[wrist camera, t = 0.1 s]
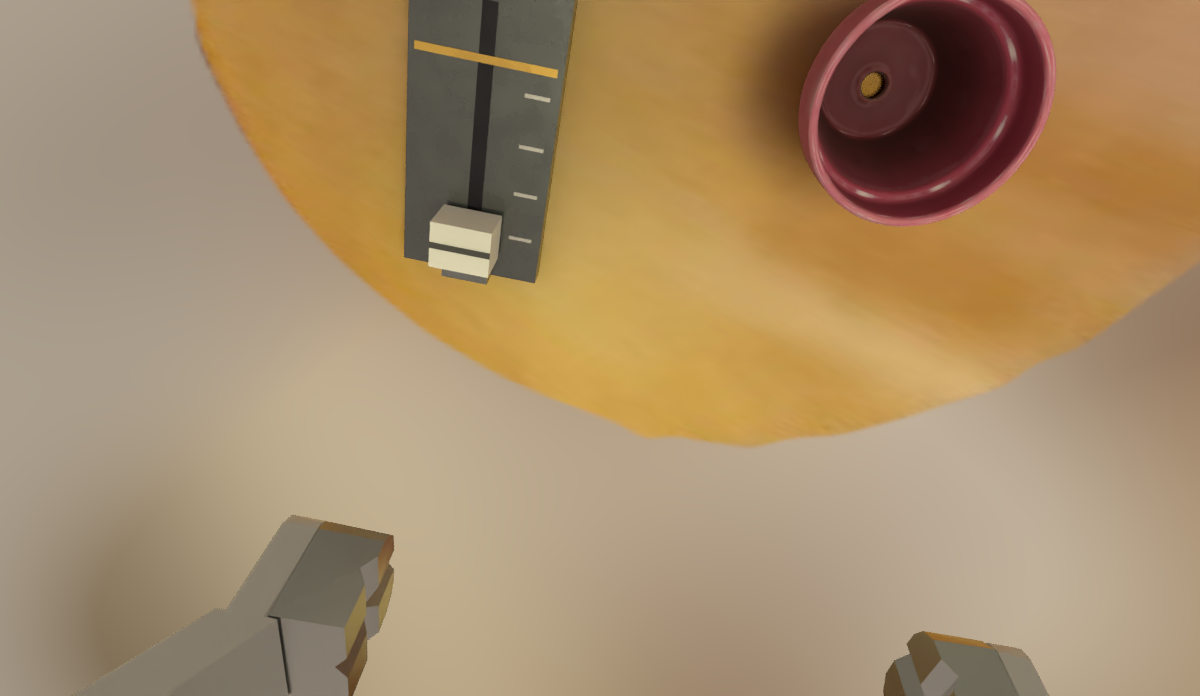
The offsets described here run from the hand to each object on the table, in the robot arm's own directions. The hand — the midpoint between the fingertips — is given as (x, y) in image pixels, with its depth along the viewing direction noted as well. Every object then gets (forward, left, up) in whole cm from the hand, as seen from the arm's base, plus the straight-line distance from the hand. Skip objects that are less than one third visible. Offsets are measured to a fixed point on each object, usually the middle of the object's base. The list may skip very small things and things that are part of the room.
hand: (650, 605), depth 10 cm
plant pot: (-3, +16, -48) cm, 51 cm away
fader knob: (+15, -13, -45) cm, 50 cm away
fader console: (+7, -13, -48) cm, 50 cm away
